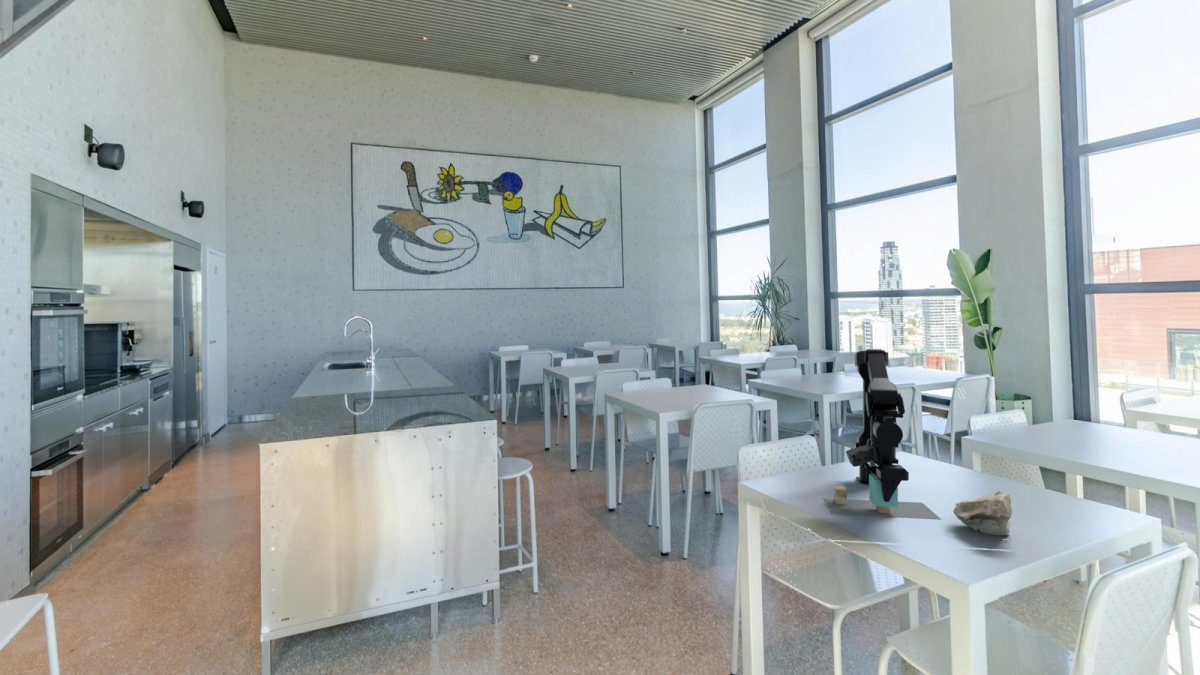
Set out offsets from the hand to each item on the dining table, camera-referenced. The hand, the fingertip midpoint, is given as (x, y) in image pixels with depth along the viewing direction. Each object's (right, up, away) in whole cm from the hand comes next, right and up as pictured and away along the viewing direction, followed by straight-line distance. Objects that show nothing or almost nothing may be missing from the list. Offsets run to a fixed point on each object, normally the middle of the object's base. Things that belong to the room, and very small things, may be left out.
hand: (882, 497), depth 138 cm
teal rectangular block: (0, -1, 0) cm, 1 cm away
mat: (0, -4, +2) cm, 4 cm away
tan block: (-8, -3, +7) cm, 11 cm away
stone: (+16, -4, -13) cm, 21 cm away
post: (0, -3, 0) cm, 3 cm away
